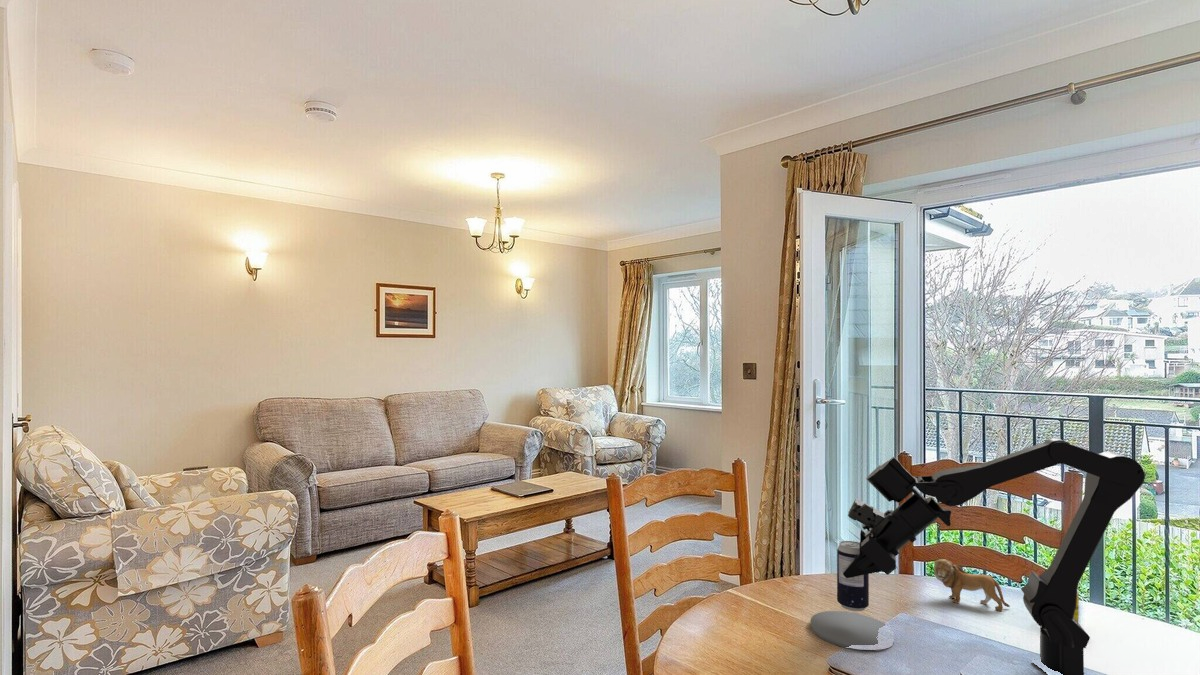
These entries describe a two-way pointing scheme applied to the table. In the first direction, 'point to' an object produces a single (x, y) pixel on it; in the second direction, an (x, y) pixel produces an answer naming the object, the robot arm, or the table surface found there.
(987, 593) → the lion figurine
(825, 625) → the gray smooth stone
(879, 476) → the robot arm
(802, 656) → the table surface
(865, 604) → the beverage can
